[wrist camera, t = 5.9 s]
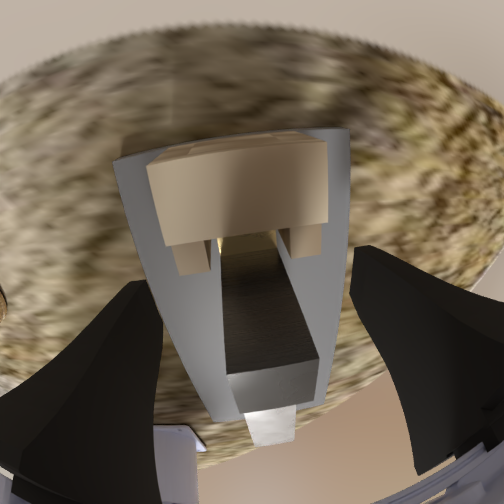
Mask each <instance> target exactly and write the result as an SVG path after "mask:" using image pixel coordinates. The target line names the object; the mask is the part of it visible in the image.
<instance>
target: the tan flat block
mask: <svg viewBox="0 0 504 504" xmlns="http://www.w3.org/2000/svg"><path fill="white" fill-rule="evenodd" d="M217 242H218V247H219V252H220V261H221V288H222V310H223V329H224V346H225V361H226V375H227V378H228V381H229V384H230V387H231V390H232V393H233V396H234V399H235V402H236V405H237V407H238V410H239V413H240V414H243V413H250V412H257V411H264V410H270V409H276V408H281V407H287V406H292V405H297V404H301V403H306V402H310V401H314V396H315V390H316V383H317V376H318V368H319V360H320V358H319V355H318V352H317V350H316V347H315V344H314V342H313V339H312V336H311V334H310V331H309V328H308V326H307V323H306V320H305V318H304V315H303V313H302V310H301V307H300V305H299V302H298V300H297V297H296V294H295V292H294V289H293V287H292V284H291V282H290V279H289V277H288V274H287V272H286V269H285V267H284V264H283V262H282V259H281V257H280V254H279V252H278V249H277V241H276V230H270V231H263V232H256V233H249V234H243V235H236V236H229V237H223V238H217Z"/></svg>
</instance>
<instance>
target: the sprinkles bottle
mask: <svg viewBox="0 0 504 504" xmlns="http://www.w3.org/2000/svg"><path fill="white" fill-rule="evenodd" d="M6 314H7V306H6V302H5V300H4V298H3V296H2V294H1V292H0V322H1V321H2V320H3V319H4V318H5V317H6Z"/></svg>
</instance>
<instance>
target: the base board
mask: <svg viewBox="0 0 504 504" xmlns="http://www.w3.org/2000/svg"><path fill="white" fill-rule="evenodd" d="M285 131H296V132H299V133H302V134H305V135H308V136H311V137H314V138H317V139H320V140H323V141H326V142H327V157H328V223H322V228H321V254H320V255H314V256H307V257H301V258H295V259H291V258H290V256H289V254H288V251H287V249H286V247H285V245H284V243H283V241H282V238H281V236H280V234H279V232H278V230H276V241H277V249H278V252H279V254H280V257H281V259H282V262H283V264H284V267H285V269H286V272H287V274H288V277H289V279H290V282H291V284H292V287H293V289H294V292H295V294H296V297H297V300H298V302H299V305H300V307H301V310H302V313H303V315H304V318H305V320H306V323H307V326H308V328H309V331H310V334H311V336H312V339H313V342H314V344H315V347H316V350H317V352H318V355H319V358H320V360H319V368H318V376H317V383H316V390H315V396H314V401H310V402H306V403H301V404H297V405H296V410H301V409H305V408H310V407H314V406H318V405H322V404H324V401H325V397H326V392H327V387H328V383H329V378H330V373H331V368H332V362H333V357H334V351H335V345H336V339H337V333H338V327H339V320H340V313H341V305H342V297H343V289H344V279H345V269H346V258H347V246H348V231H349V212H350V129H347V128H343V127H318V128H297V129H282V130H270V131H260V132H250V133H242V134H234V135H227V136H220V137H213V138H207V139H201V140H195V141H190V142H185V143H179V144H174V145H170V146H165V147H160V148H156V149H151V150H147V151H143V152H139V153H135V154H131V155H127V156H123V157H120V158H118V159H116V160H115V161H113V162H112V163H113V167H114V172H115V176H116V180H117V184H118V188H119V192H120V196H121V199H122V203H123V207H124V210H125V214H126V217H127V220H128V224H129V227H130V230H131V234H132V237H133V240H134V243H135V246H136V249H137V252H138V255H139V258H140V261H141V264H142V267H143V269H144V272H145V275H146V278H147V280H148V283H149V286H150V288H151V291H152V294H153V296H154V299H155V301H156V304H157V306H158V309H159V311H160V314H161V316H162V318H163V321H164V323H165V326H166V328H167V330H168V332H169V335H170V337H171V339H172V342H173V344H174V346H175V348H176V350H177V352H178V355H179V357H180V359H181V361H182V363H183V365H184V367H185V369H186V371H187V373H188V375H189V377H190V379H191V381H192V383H193V385H194V387H195V389H196V391H197V393H198V395H199V397H200V398H201V400H202V402H203V404H204V406H205V408H206V409H207V411H208V413H209V415H210V417H211V418H212V420H213V422H222V421H232V420H241V419H245V416H244V413H243V414H240V413H239V410H238V407H237V405H236V402H235V399H234V396H233V393H232V390H231V387H230V384H229V381H228V378H227V375H226V361H225V346H224V329H223V310H222V288H221V261H220V252H219V247H218V242H217V238H216V239H211V270H210V272H203V273H196V274H190V275H183V276H179V272H178V269H177V265H176V262H175V258H174V255H173V251H172V248H171V246H166V245H165V242H164V238H163V235H162V231H161V227H160V223H159V219H158V216H157V212H156V208H155V204H154V199H153V195H152V191H151V187H150V182H149V178H148V173H147V169H146V166H147V165H148V164H149V163H151V162H152V161H153V160H154V159H155V158H157V157H158V156H159V155H160V154H162V153H163V152H164V151H165V150H167V149H168V148H171V147H176V146H181V145H186V144H191V143H197V142H203V141H209V140H215V139H222V138H229V137H236V136H244V135H253V134H262V133H273V132H285Z"/></svg>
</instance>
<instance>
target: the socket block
mask: <svg viewBox="0 0 504 504" xmlns="http://www.w3.org/2000/svg"><path fill="white" fill-rule="evenodd" d="M146 169H147V173H148V178H149V182H150V187H151V191H152V195H153V199H154V204H155V208H156V212H157V216H158V219H159V223H160V227H161V231H162V235H163V238H164V242H165V245H166V246H171V248H172V251H173V255H174V258H175V262H176V265H177V269H178V272H179V276H183V275H190V274H196V273H203V272H210V270H211V239H216V238H223V237H229V236H236V235H243V234H249V233H256V232H263V231H270V230H278V232H279V234H280V236H281V238H282V241H283V243H284V245H285V247H286V249H287V251H288V254H289V256H290V258H291V259H295V258H301V257H307V256H314V255H320V254H321V228H322V223H328V157H327V142H326V141H323V140H320V139H317V138H314V137H311V136H308V135H305V134H302V133H299V132H296V131H285V132H273V133H262V134H253V135H244V136H236V137H229V138H222V139H215V140H209V141H203V142H197V143H191V144H186V145H181V146H176V147H171V148H168V149H167V150H165V151H164V152H163V153H162V154H160V155H159V156H158V157H157V158H155V159H154V160H153V161H152V162H151V163H149V164H148V165H147V166H146Z"/></svg>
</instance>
